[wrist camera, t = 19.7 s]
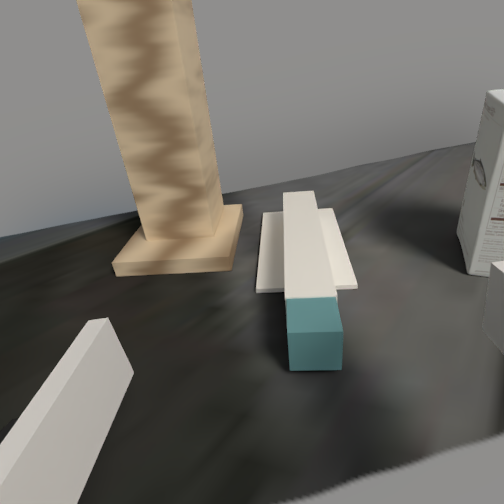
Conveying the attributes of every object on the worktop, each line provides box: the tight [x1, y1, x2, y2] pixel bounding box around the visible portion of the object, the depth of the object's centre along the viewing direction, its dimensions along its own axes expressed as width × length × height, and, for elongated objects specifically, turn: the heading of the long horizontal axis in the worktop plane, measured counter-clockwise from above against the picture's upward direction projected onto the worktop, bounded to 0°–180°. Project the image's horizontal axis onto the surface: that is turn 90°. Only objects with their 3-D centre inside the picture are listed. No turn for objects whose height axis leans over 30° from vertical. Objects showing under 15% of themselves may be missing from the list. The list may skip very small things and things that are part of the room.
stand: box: [76, 0, 243, 276], centre depth 30 cm, size 11×12×30 cm
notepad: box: [256, 208, 357, 293], centre depth 34 cm, size 8×15×1 cm, turn 176°
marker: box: [283, 191, 343, 371], centre depth 29 cm, size 3×21×3 cm, turn 176°
